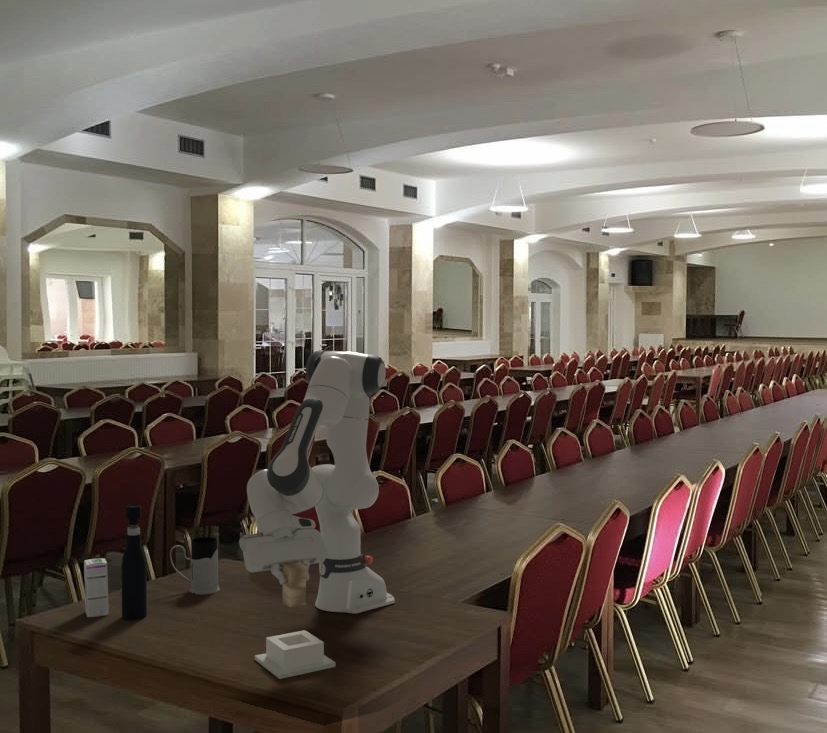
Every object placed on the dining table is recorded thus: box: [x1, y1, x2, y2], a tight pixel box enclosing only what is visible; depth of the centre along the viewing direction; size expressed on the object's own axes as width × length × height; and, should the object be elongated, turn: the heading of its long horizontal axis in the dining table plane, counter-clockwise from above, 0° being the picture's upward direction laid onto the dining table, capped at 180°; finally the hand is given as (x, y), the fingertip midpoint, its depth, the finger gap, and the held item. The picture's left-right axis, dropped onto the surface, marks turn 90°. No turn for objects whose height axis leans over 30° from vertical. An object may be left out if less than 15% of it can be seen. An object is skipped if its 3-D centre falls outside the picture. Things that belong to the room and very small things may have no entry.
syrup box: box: [83, 557, 110, 618], centre depth 252 cm, size 6×6×14 cm
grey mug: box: [169, 536, 220, 595], centre depth 274 cm, size 9×14×15 cm, turn 102°
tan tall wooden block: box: [282, 562, 307, 608], centre depth 215 cm, size 4×4×9 cm
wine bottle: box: [121, 504, 148, 621], centre depth 249 cm, size 6×6×30 cm
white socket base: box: [254, 629, 337, 680], centre depth 216 cm, size 14×14×6 cm
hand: (295, 581), depth 215 cm, fingers closed on tan tall wooden block, 4 cm apart
